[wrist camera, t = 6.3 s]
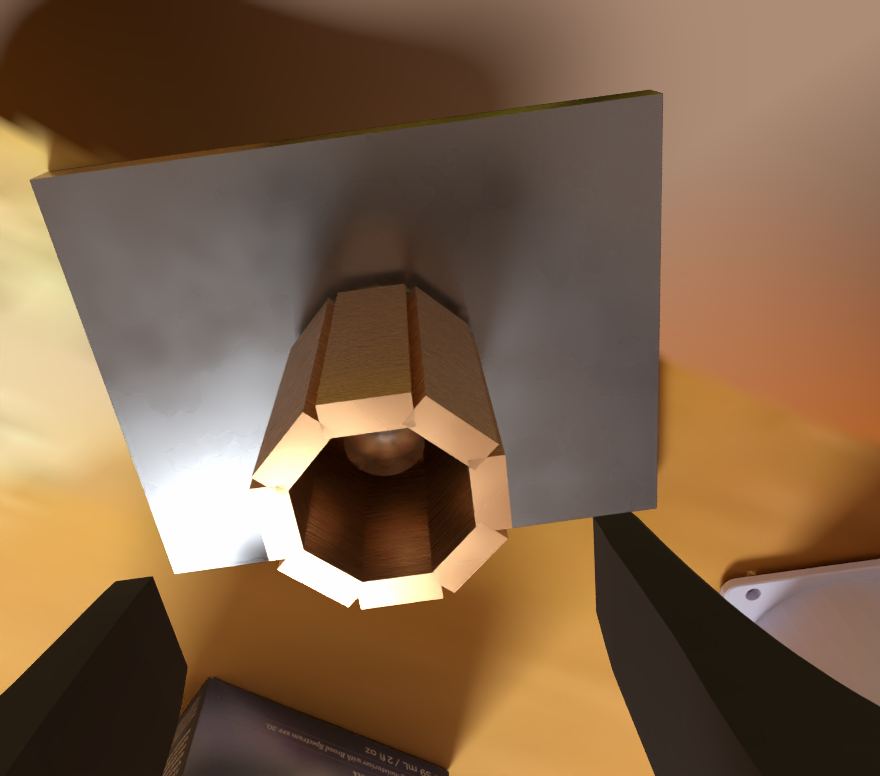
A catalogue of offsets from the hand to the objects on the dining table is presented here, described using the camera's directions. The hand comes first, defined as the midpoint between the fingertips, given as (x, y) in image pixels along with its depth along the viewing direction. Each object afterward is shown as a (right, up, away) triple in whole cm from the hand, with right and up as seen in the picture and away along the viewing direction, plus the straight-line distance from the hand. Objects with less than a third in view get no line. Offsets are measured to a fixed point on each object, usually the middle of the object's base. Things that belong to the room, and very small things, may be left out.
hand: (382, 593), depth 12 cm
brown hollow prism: (-1, +4, +7) cm, 8 cm away
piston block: (-1, +4, +9) cm, 10 cm away
